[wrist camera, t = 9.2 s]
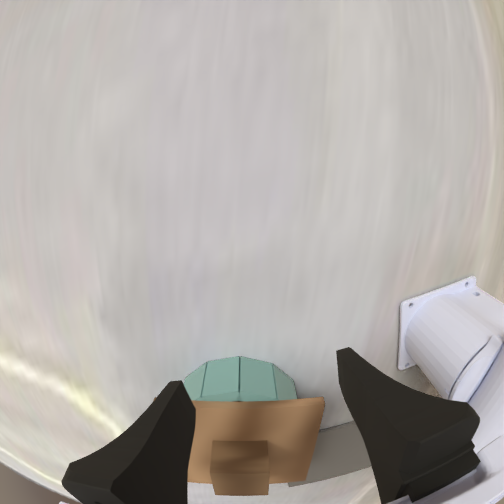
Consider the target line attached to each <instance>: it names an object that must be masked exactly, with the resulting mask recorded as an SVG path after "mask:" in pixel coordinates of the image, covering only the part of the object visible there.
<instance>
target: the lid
mask: <svg viewBox="0 0 504 504" xmlns="http://www.w3.org/2000/svg"><path fill="white" fill-rule="evenodd" d="M155 399H156V397H155V398H154V400H155ZM191 401H192V402H193V404H194V406H195V408H196V424H195V432H194V438H193V443H192V449H191V454H190V460H189V466H188V482H195V483H209V484H213V488H214V491H215V495H230V496H252V495H268V490H269V484H273V483H287V482H298V481H305V480H306V477H307V474H308V470H309V467H310V463H311V460H312V456H313V452H314V449H315V445H316V441H317V437H318V433H319V429H320V424H321V420H322V416H323V411H324V407H325V401H324V398H323V397H315V398H305V399H292V400H276V401H243V402H228V401H195V400H191Z"/></svg>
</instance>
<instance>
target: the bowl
mask: <svg viewBox="0 0 504 504" xmlns="http://www.w3.org/2000/svg"><path fill="white" fill-rule="evenodd" d="M184 386H185V388H186V391H187V393H188V395H189V397H190V399H191V400H195V401H228V402H243V401H276V400H292V399H297V395H296V390H295V386H294V381H293V380H292V379H291V378H290V377H289V376H287V375H286V374H285V373H284V372H282V371H281V370H280V369H279V368H278V367H276V366H275V365H274V364H272V363H268V362H264V361H259V360H255V359H250V358H246V357H242V356H241V357H240V358H239V356H238V357H232V358H226V359H220V360H214V361H208V363H207V362H206V363H204V364H203V365H202V366H200V367H199V368H198V369H196V370H195V371H194V372H192V373H191V374H190V375H188V376H187V377H186V378H185V382H184Z"/></svg>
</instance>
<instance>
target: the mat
mask: <svg viewBox="0 0 504 504" xmlns="http://www.w3.org/2000/svg"><path fill="white" fill-rule="evenodd" d="M370 466H372V465H371V462H370V459H369V455H368V452H367V449H366V446H365V443H364V440H363V438H362V436H361V433H360V431H359V429H358V427H357V425H356V423H355V421H353V422H349V423H346V424H342V425H339V426H335V427H332V428H328V429H324V430H320V431H319V433H318V437H317V441H316V445H315V449H314V452H313V456H312V460H311V463H310V467H309V470H308V474H307V477H306V480H305V481H298V482H288V485H289V487H292V486H297V485H303V484H307V483H312V482H317V481H321V480H325V479H329V478H333V477H337V476H341V475H344V474H348V473H351V472H355V471H358V470H361V469H364V468H367V467H370Z"/></svg>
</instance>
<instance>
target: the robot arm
mask: <svg viewBox="0 0 504 504" xmlns="http://www.w3.org/2000/svg"><path fill="white" fill-rule="evenodd" d="M410 303H411V305H410V306H409V304H410ZM336 352H337V364H338V377H339V384H340V388H341V391H342V394H343V397H344V400H345V402H346V404H347V406H348V408H349V410H350V412H351V415H352V417H353V419H354V421H355V423H356V425H357V427H358V429H359V431H360V433H361V436H362V438H363V440H364V443H365V446H366V449H367V452H368V455H369V459H370V462H371V465H372V469H373V472H374V476H375V479H376V483H377V487H378V491H379V495H380V499H381V504H495V503H496V502H498V501H499V500H500V499H502V498H503V497H504V303H502V302H500V301H499V300H497V299H496V298H494V297H493V296H491V295H490V294H488V293H486V292H485V291H483V290H482V289H480V288H478V287H477V286H476V277H474V276H471V277H468V278H466V279H463V280H461V281H458V282H455V283H453V284H450V285H448V286H445V287H442V288H439V289H437V290H434V291H431V292H428V293H426V294H423V295H420V296H417V297H414V298H411V299H408V300H405V301H403V302H402V303H401V305H400V332H399V352H398V366H397V367H398V369H399V370H404V369H407V368H409V367H412V366H414V365H418V366H419V368H420V369H421V370H422V372H423V373H424V374H425V376H426V377H427V378H428V379H429V381H430V382H431V383H432V385H433V386H434V387H435V389H436V390H437V391H438V393H439V394H440V395H441V397H442V398H438V397H434V396H431V395H427V394H425V393H422V392H419V391H416V390H414V389H411V388H409V387H407V386H405V385H403V384H401V383H399V382H397V381H395V380H393V379H392V378H390V377H388V376H387V375H385V374H384V373H382V372H381V371H379V370H378V369H376V368H375V367H374V366H372V365H371V364H370V363H368V362H367V361H366V360H364V359H363V358H362V357H361V356H360V355H358V354H357V353H356V352H355V351H354V350H353V349H351V348H350V347H348V348H345V349H341V350H338V351H336ZM195 424H196V408H195V406H194V404H193V402H192V401H191V399H190V397H189V395H188V393H187V391H186V388H185V386H184V384H183V382H182V380H181V381H171V382H169V383H168V384H167V386H166V387H165V388H164V389H163V390H162V392H161V393H160V394H159V395H158V397H157V398H156V399H155V400H154V401H153V403H152V404H151V405H150V406H149V407H148V409H147V410H146V411H145V412H144V413H143V414H142V415H141V416H140V417H139V418H138V419H137V420H136V421H135V422H134V423H133V424H132V425H131V426H130V427H129V428H128V429H127V430H126V431H125V432H123V433H122V434H121V435H120V436H119V437H117V438H116V439H114V440H113V441H112V442H110V443H109V444H107V445H106V446H104V447H103V448H101V449H99V450H98V451H96V452H94V453H92V454H90V455H88V456H86V457H84V458H82V459H79V460H77V461H74V462H72V463H70V464H69V466H68V468H67V471H66V473H65V475H64V477H63V479H62V485H63V487H64V488H65V489H66V490H67V491H68V492H69V493H70V494H71V495H73V496H74V497H75V498H76V499H78V500H79V501H80V502H81V503H83V504H188V503H187V482H188V466H189V460H190V454H191V449H192V443H193V438H194V432H195ZM59 504H68V503H65V502H62V501H61V502H60V503H59Z"/></svg>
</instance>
